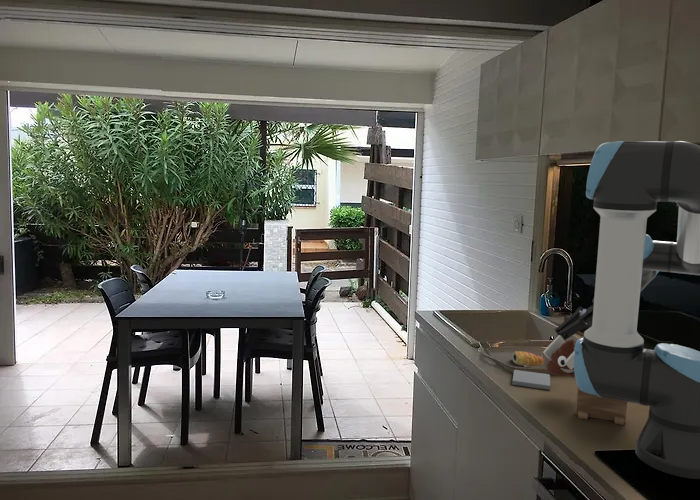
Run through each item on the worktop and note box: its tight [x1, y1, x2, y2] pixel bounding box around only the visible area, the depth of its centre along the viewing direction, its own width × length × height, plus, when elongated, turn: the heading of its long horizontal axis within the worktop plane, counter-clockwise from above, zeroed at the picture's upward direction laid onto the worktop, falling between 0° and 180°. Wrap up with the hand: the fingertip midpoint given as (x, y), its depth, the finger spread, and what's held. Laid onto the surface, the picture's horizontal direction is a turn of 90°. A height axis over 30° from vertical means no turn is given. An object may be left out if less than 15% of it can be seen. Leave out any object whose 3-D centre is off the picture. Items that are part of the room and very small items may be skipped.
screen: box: [575, 386, 628, 426], centre depth 137 cm, size 5×11×14 cm, turn 72°
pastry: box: [511, 350, 545, 367], centre depth 178 cm, size 9×7×4 cm
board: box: [511, 369, 551, 391], centre depth 161 cm, size 10×10×1 cm
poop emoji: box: [545, 338, 575, 378], centre depth 149 cm, size 10×8×9 cm
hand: (556, 360), depth 148 cm, fingers closed on poop emoji, 8 cm apart
